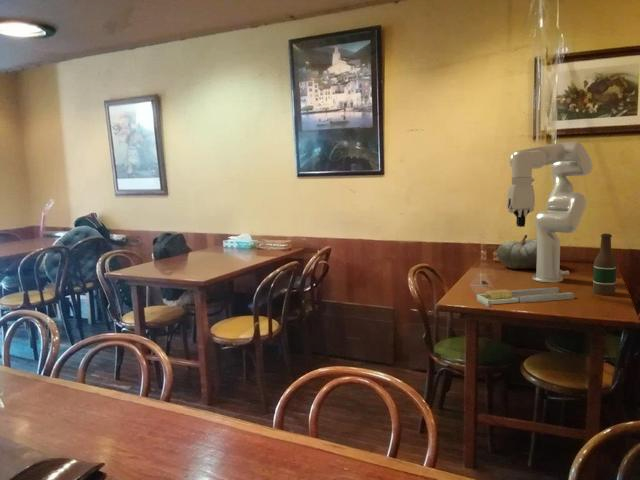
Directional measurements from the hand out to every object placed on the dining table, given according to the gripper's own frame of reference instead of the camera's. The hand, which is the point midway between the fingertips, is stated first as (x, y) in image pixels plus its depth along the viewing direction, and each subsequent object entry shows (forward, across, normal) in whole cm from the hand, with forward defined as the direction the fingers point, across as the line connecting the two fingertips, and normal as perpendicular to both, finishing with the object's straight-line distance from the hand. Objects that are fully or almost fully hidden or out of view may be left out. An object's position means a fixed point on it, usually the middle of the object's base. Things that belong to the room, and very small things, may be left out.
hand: (520, 226), depth 200 cm
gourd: (+27, -27, -43) cm, 58 cm away
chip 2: (+27, +15, +15) cm, 34 cm away
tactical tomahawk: (+28, +10, -7) cm, 30 cm away
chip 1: (+27, +19, +15) cm, 36 cm away
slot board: (+27, +1, +15) cm, 31 cm away
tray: (+27, +18, +15) cm, 36 cm away
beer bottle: (+27, -28, +14) cm, 42 cm away
